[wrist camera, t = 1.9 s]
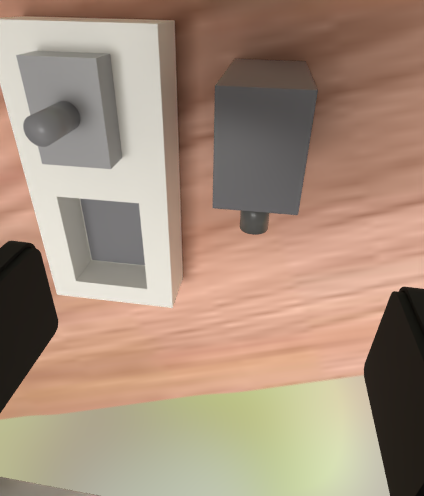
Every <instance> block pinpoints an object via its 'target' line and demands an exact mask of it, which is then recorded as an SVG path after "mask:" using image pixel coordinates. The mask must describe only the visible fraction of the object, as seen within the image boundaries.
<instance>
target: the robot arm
mask: <svg viewBox="0 0 424 496" xmlns="http://www.w3.org/2000/svg"><path fill="white" fill-rule="evenodd" d="M57 327H58V318H57V314H56V310H55V306H54V303H53V299H52V295H51V291H50V287H49V283H48V279H47V275H46V271H45V268H44V264H43V260H42V256H41V253H40V251H39V250H38V249H36V248H35V246H34V245H33V244H31V243H26V242H18V241H9V242H7V243H6V244H4V245H3V246H2V247H1V248H0V413H1V411H2V410H3V408H4V407H5V406H6V404H7V403H8V401H9V400H10V398H11V397H12V395H13V394H14V392H15V391H16V389H17V388H18V387H19V385H20V384H21V382H22V381H23V379H24V378H25V376H26V375H27V373H28V372H29V371H30V369H31V368H32V366H33V365H34V363H35V362H36V360H37V359H38V357H39V356H40V355H41V353H42V352H43V350H44V349H45V347H46V346H47V344H48V343H49V341H50V340H51V338H52V337H53V336H54V334H55V332H56V330H57ZM364 378H365V383H366V387H367V392H368V396H369V400H370V405H371V410H372V415H373V419H374V424H375V428H376V432H377V437H378V442H379V446H380V451H381V456H382V460H383V465H384V469H385V474H386V478H387V483H388V487H389V492H390V496H424V289H419V288H411V287H402V288H401V289H400V290H399V292H395V291H394V292H392V294H391V296H390V298H389V301H388V304H387V306H386V309H385V312H384V314H383V317H382V319H381V322H380V325H379V327H378V330H377V333H376V335H375V338H374V341H373V343H372V346H371V349H370V351H369V354H368V357H367V359H366V362H365V366H364ZM0 496H99V495H94V494H88V493H83V492H77V491H72V490H67V489H62V488H57V487H51V486H46V485H41V484H36V483H30V482H25V481H19V480H14V479H9V478H3V477H0Z"/></svg>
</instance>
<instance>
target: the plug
mask: <svg viewBox="0 0 424 496" xmlns="http://www.w3.org/2000/svg"><path fill="white" fill-rule="evenodd" d="M317 93H318V89H317V87H316V85H315V82H314V80H313V78H312V75H311V73H310V71H309V68H308V66H307V64H306V61H285V60H258V59H234V60H233V62H232V63H231V64H230V66H229V67H228V69H227V70H226V71H225V73H224V74H223V75H222V77H221V78H220V79H219V81H218V82H217V84H216V85H215V114H214V166H213V208H218V209H230V210H241V216H240V229H241V230H242V231H243V232H245V233H248V234H262V233H265V232H266V231H267V229H268V221H269V213H278V214H290V215H298V212H299V205H300V199H301V193H302V187H303V180H304V174H305V168H306V161H307V155H308V149H309V143H310V136H311V130H312V124H313V118H314V111H315V105H316V99H317Z"/></svg>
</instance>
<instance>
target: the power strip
mask: <svg viewBox="0 0 424 496" xmlns="http://www.w3.org/2000/svg"><path fill="white" fill-rule="evenodd" d="M0 85H1V89H2V92H3V96H4V100H5V103H6V107H7V111H8V114H9V118H10V122H11V126H12V129H13V133H14V137H15V140H16V144H17V148H18V151H19V155H20V159H21V163H22V166H23V170H24V174H25V177H26V181H27V185H28V188H29V192H30V196H31V200H32V203H33V207H34V211H35V214H36V218H37V222H38V225H39V229H40V233H41V237H42V240H43V244H44V248H45V251H46V255H47V259H48V262H49V266H50V270H51V274H52V277H53V281H54V285H55V288H56V292H57V295H65V296H74V297H82V298H91V299H100V300H109V301H117V302H126V303H135V304H143V305H152V306H161V307H170V308H173V306H174V303H175V300H176V297H177V294H178V291H179V288H180V285H181V282H182V280H183V263H182V232H181V201H180V169H179V138H178V107H177V76H176V45H175V20H147V19H109V18H72V17H35V16H18V17H3V18H0Z"/></svg>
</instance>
